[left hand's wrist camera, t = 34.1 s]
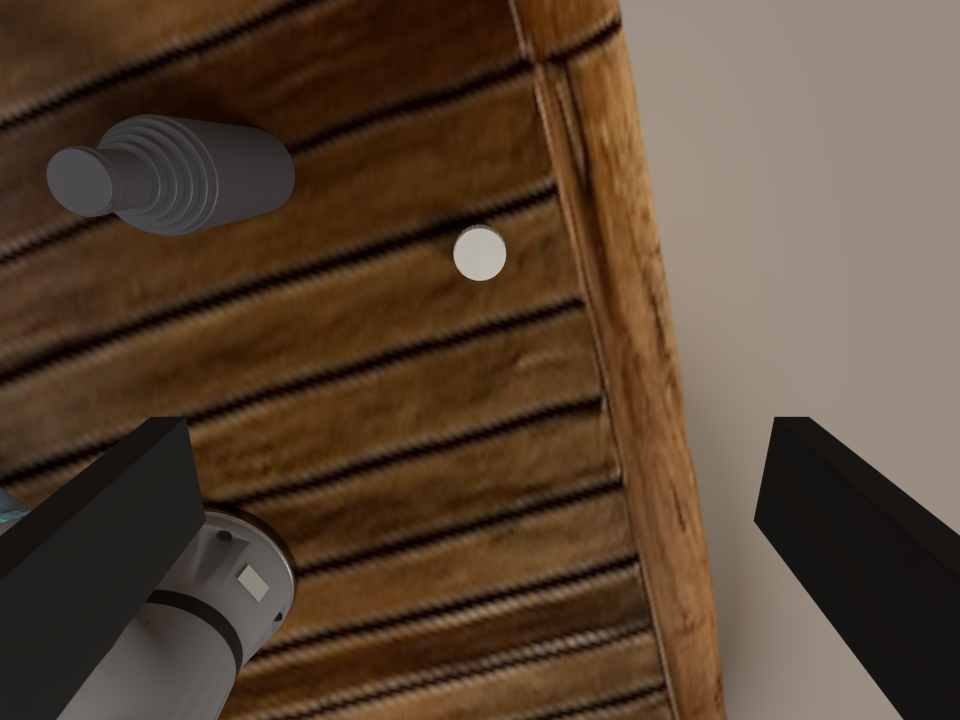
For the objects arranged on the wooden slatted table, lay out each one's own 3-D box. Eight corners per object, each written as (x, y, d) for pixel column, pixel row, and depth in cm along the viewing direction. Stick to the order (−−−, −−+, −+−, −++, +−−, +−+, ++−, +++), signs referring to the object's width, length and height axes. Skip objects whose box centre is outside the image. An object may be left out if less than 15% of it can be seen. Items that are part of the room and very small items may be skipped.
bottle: (196, 171, 40) (-24, 182, 23) (246, 108, 39) (51, 67, 21) (262, 230, 42) (102, 283, 24) (312, 171, 40) (181, 182, 23)
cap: (456, 277, 43) (455, 283, 41) (451, 226, 42) (450, 229, 40) (506, 273, 43) (508, 279, 41) (503, 221, 41) (504, 225, 39)
